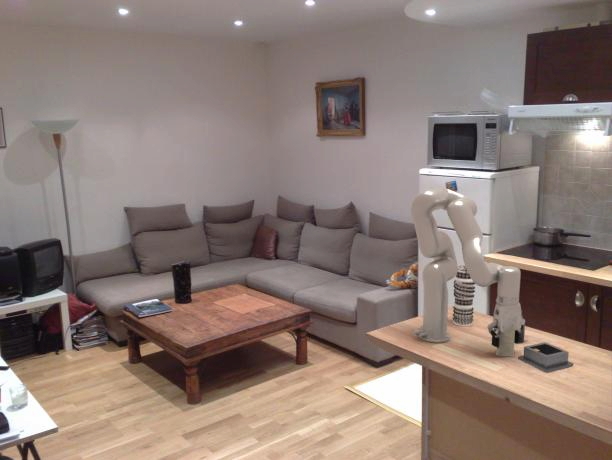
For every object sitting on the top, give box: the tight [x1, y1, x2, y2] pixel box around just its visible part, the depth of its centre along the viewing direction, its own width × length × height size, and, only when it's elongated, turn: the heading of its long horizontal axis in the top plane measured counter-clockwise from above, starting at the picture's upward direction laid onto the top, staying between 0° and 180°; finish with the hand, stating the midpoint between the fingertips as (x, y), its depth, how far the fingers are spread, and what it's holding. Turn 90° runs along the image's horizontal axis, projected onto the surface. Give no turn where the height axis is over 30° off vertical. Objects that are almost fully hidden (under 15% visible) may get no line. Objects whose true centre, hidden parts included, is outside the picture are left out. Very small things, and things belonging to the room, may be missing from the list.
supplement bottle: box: [514, 310, 526, 344], centre depth 221 cm, size 7×7×12 cm
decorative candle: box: [452, 265, 476, 327], centre depth 240 cm, size 9×9×25 cm
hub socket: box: [517, 341, 574, 374], centre depth 200 cm, size 13×13×6 cm
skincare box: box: [495, 324, 515, 358], centre depth 207 cm, size 6×4×12 cm
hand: (505, 344), depth 208 cm, fingers open, 9 cm apart
